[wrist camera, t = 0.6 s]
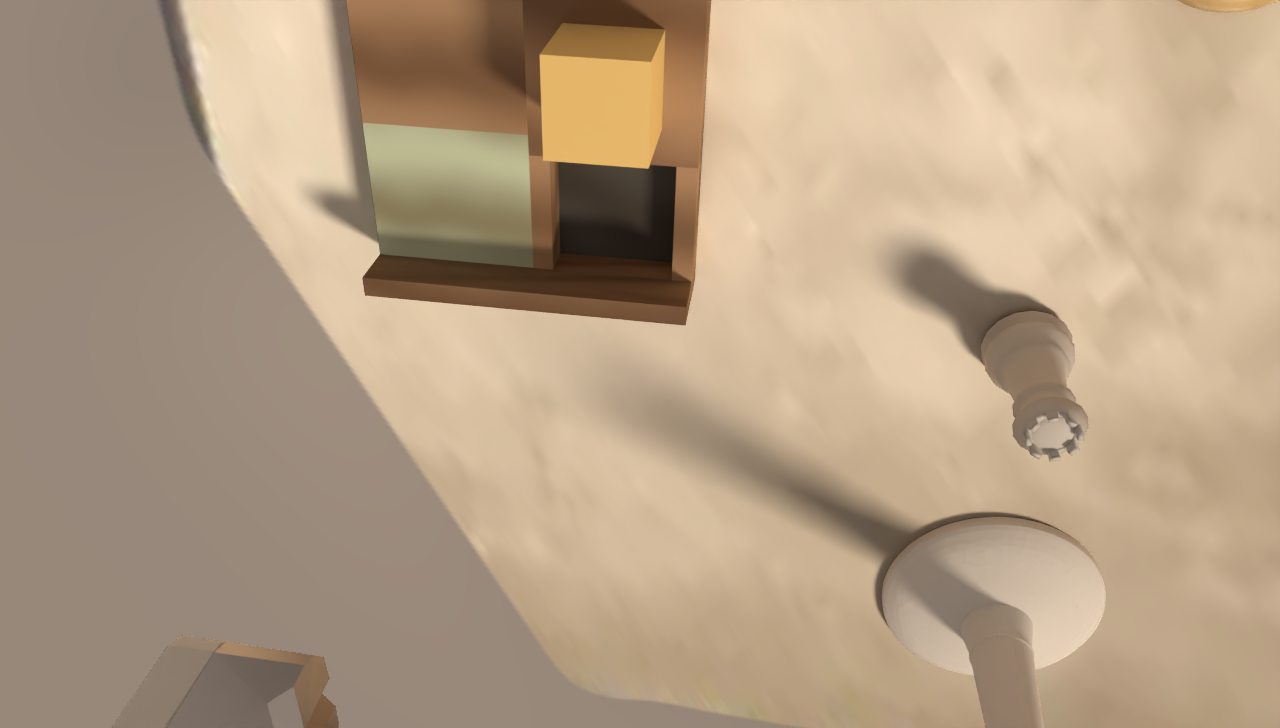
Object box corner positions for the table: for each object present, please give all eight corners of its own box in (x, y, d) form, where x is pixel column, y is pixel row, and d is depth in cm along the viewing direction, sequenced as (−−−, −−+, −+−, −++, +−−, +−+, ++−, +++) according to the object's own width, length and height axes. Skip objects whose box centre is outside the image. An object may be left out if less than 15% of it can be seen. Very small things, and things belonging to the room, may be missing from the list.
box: (336, -220, 43) (290, -210, 39) (722, -206, 41) (713, -193, 37) (395, 253, 55) (365, 295, 51) (694, 279, 53) (685, 325, 50)
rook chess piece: (960, 341, 53) (980, 436, 46) (1034, 289, 51) (1066, 381, 44) (1015, 394, 54) (1043, 493, 48) (1090, 345, 52) (1129, 442, 46)
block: (562, 23, 45) (539, 54, 41) (665, 29, 44) (651, 61, 41) (564, 122, 47) (543, 160, 44) (662, 129, 47) (648, 168, 43)
